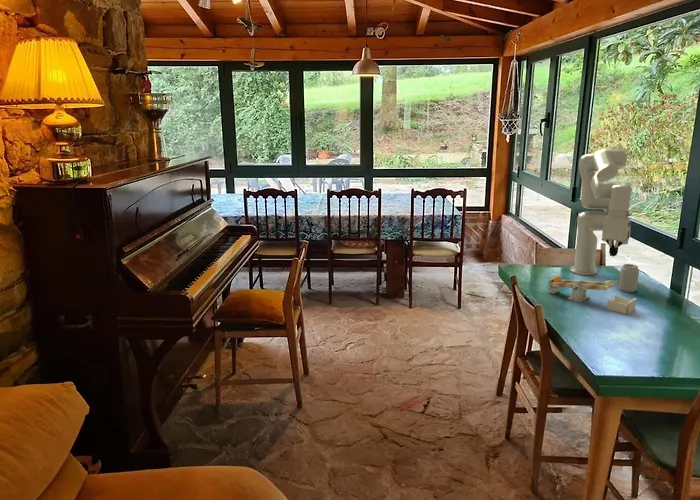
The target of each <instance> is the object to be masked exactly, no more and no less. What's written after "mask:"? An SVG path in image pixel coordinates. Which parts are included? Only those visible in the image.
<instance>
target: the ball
mask: <svg viewBox="0 0 700 500" xmlns="http://www.w3.org/2000/svg"><path fill="white" fill-rule="evenodd" d="M552 279H553V281H554V282H559V283H560V282H561V281H562V280H563V279H562V277H561V275H555V276H554V277H553V278H552Z"/></svg>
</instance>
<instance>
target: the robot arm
mask: <svg viewBox="0 0 700 500" xmlns="http://www.w3.org/2000/svg"><path fill="white" fill-rule="evenodd" d="M627 161H628V156H627V153H626V152H625V151H624V150H623V149H620V148H619V149H614V148H613V149H610V148H606V149H605V148H603V149H602V148H601V149H599V150H597V151H595V152H594V153H587V154H584V155H582V156H581V157H580V158H579V161H578V171H579V175H580V179H581V194H580V198H581V199H580V200H581V202H580V203H581V206H582V208H584V209H589V210H590V209H591V210H604V211H591V210H590V211H582V212H580V213H579V214H578V216H577V221H576V223H577V237H576V246H575V247H576V248H575V256H574V262H573V263H574V264H573V266H571V267H570V272H571V273H573V274H577V275H581V276H582V275H583V276H595V275H597V273H598V270H597V269H596V268H595V266H596V264H597V262H596V256H597V248H598V237H597V234H595V233H594V232H595V231H599V232H601V241H603V242H605V243H606V244H607V245H608V247H609V248H608V249H609V251H608V254H609V257H615V256H617V255H618V253H619V252H618V251H619V247H620V246H622V245H628V244H629V240H630V236H631V218H630V217H632V215H633V213H632V212H630V204H631V194H632V193H631V192H632V187H631V186H630V185H628V183H626V182H618V181H617V182H615V181H611V180H613V179H614V178H615V177H616V176H618V173H619V170H621V169H623V168H624V167H625V166H626V164H627Z"/></svg>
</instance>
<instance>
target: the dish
mask: <svg viewBox="0 0 700 500" xmlns="http://www.w3.org/2000/svg"><path fill="white" fill-rule="evenodd" d="M636 305H637V298H636V297H634V298H632V299H631V298H626V297H622V296H618V295H614V299H612V300H610V299H608V300H607V304H606V310H608V311H613V312H616V313H620V314H624V315H628V316H629V314H631V313H632V312H633V311H635V310H636Z"/></svg>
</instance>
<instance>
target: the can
mask: <svg viewBox="0 0 700 500" xmlns="http://www.w3.org/2000/svg"><path fill="white" fill-rule="evenodd" d="M639 276H640V269H639V266H638V265H636V264H631V263H625V264H623V265H622V267H621V268H620V274H619V280H618V281H619V284H618V289H619V290H620V291H621V292H625V293H634V292H635V291H637V288H638V283H639Z"/></svg>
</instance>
